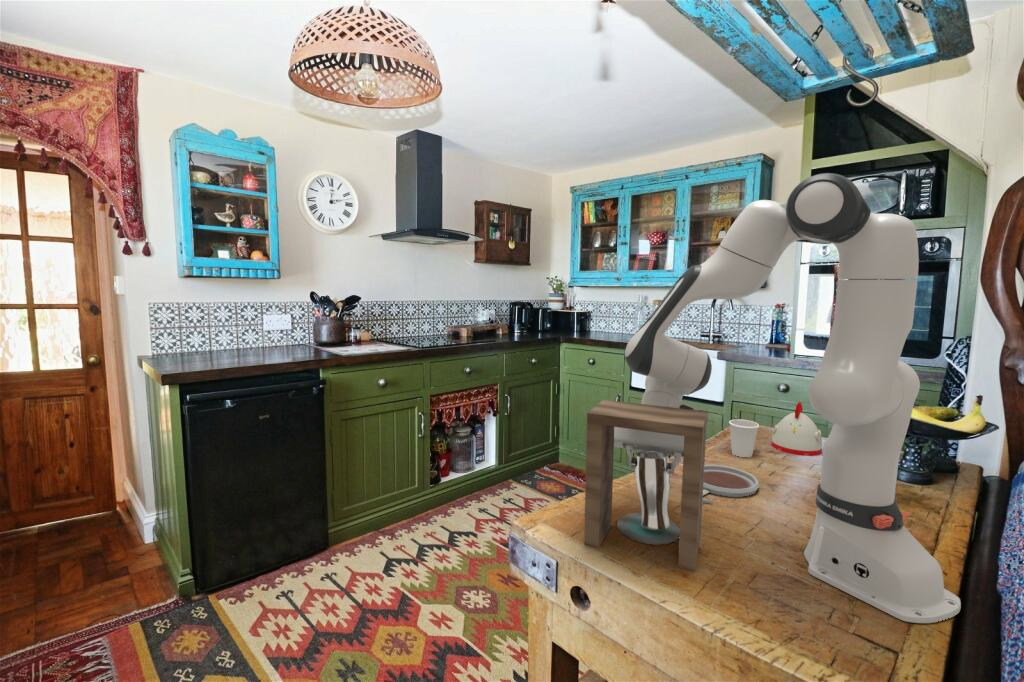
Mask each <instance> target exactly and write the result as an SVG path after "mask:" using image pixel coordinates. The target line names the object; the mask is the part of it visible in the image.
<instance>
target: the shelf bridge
mask: <svg viewBox="0 0 1024 682" xmlns="http://www.w3.org/2000/svg"><path fill="white" fill-rule="evenodd" d="M708 412H709V411H708V410H707V411H706V410H699V409H698V410H691V409H682V408H673V407H663V406H654V405H645V404H641V403H637V402H635V403H634V402H626V401H616V400H607V399H603V400H601V401H600V402H599V403H598V404H597V405H595V406H594V407H592V409H590V410H589V411H588V412H586V414H587V415H586V445H585V446H586V452H585V454H586V456H585V488H584V489H585V491H584V492H585V493H584V494H585V495H584V497H585V498H584V534H583V535H584V536H583V538H584V539H583V544H584V545H586V544H587V545H586V546H590V547H595V548H600V546H601V545H602V542H603V541H604V539H605V537H606V535H607V533H608V532H609V530H610V528H611V526H612V522H613V521H612V518H613V517H612V515H613V511H612V510H613V482H614V455H615V454H614V451H615V450H614V449H615V447H614V427H620V428H627V429H635V430H642V431H650V432H657V433H665V434H672V435H680V436H684V455H683V457H682V459H683V460H682V461H683V462H682V478H681V479H682V480H681V482H682V483H681V489H682V492H681V498H680V501H681V502H680V521H679V524H680V525H679V526H678V525H677V523H675V522H674V521H672V520H670V519H669V522H670V527H669V528H668V529H666V530H661V531H654V530H648V529H645V528H643V527H642V526H641V525H640V520H641V512H634V513H628V514H626V515H625V514H624V515H622V516H621V517H620V518H619V519H618V520H617V523H616V526H617V529H618V532H620V533H621V535H623V536H624V537H626V538H628V539H629V538H630V539H629V540H631V539H632V540H631V541H634V542H636V541H637V543H640V542H641V544H644V543H645V545H650V544H652V546H660V545H659V544H665V545H669V544H668V543H670V544H672V543H671V542H673V543H675V542H676V540H677V541H678V540H679V541H678V558H677V559H678V560H677V561H678V562H677V564H678V565H677V568H678V569H679V568H680V569H684V570H687V571H692V572H696V570H697V563H698V560H699V559H698V558H699V554H698V553H699V552H700V548H701V535H702V534H701V533H702V517H703V516H702V514H703V503H702V500H703V499H704V498H703V496H704V495H703V481H704V465H705V459H706V443H707V440H706V439H707V424H708V415H709V413H708ZM679 537H680V538H679ZM674 541H675V542H674Z"/></svg>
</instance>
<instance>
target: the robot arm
mask: <svg viewBox="0 0 1024 682" xmlns="http://www.w3.org/2000/svg"><path fill="white" fill-rule="evenodd" d="M871 210H872V209H871V207H870V206H869V205H868V203H867V201H866V200H865V198H864V197H863V195H862V193H861V192H860V190H859V188H858V187H857V185H856V184H855V183H854V182H853V181H852V180H850V179H849V177H846V176H844V175H842V174H838V173H834V172H833V173H830V172H825V173H823V172H822V173H818V174H815V175H812V176H809V177H807V178H805V179H804V180H802V181H801V182H799V183H798V184H797V185H796V186H795V187H794V188H793V189H792V191H791V193H789V196H788V198H787V201H786V202H784V203H783V202H778V201H775V200H770V199H769V200H768V199H760V200H758V199H757V200H754V201H752V202H750V203H748V204H747V205H746V207H744V208H743V210H742V211H740V213H739V215H738V216H737V217H736V219H735V220H734V221H733V223H732V224H731V226H730V227H729V229H728V230H727V232H725V235H724V237H723V238H722V240H721V241H720V244H719V245H718V247H717V248H716V250H715V251H714V252H713V254H712V255H711V256H709V258H707V260H705V261H703V262H702V263H700V264H696V265H691V266H690V267H689V268H687V270H685V272H683V273H682V275H681V276H680V277H678V279H677V280H676V282H675V283H674V284H673V285H672V287H671V288H670V290H668V292H667V293H666V294H665V296H664V297H663V299H662V300H661V301H660V303H659V304H658V305H657V306H656V307H655V309H654V311H653V312H652V313H651V314H650V316H649V317H648V318H647V319H646V321H645V322H644V323H643V324H642V326H640V327H639V328H638V330H637V331H636V332H635V333H634V334H633V336H632V337H631V338H630V340H628V342H627V344H626V347H625V351H624V354H623V356H624V360H625V363H626V364H627V366H628V368H629V369H630V370H631V372H632V373H636V374H638V375H642V376H645V384H644V386H645V391H644V392H643V394H642V398H641V402H640V404H645V405H654V406H663V407H673V408H682V409H691V410H699V409H698V408H696V407H693V406H692V405H688V404H685V403H684V402H683V401H682V400H683V397H685V396H689V395H692V394H695V393H696V392H699V391H700V390H702V389H704V388H705V387H706V386H707V385H708V384H709V381H710V379H711V375H712V370H713V368H712V366H713V364H712V360H711V357H710V355H709V353H708V352H707V351H704V350H703V349H701V348H699V347H696V346H693V345H691V344H689V343H685V342H683V341H680V340H678V339H675V338H673V337H670V336H667V335H665V333H666V332H667V331H668V330H669V328H671V325H673V324H674V322H675V321H676V319H677V318H678V316H680V314H681V313H682V312H683V310H684V309H685V308H686V307H687V306H689V305H690V304H691V303H694V302H697V301H701V300H735V299H742V298H745V297H749V296H751V295H753V294H755V293H756V292H758V291H759V290H760V288H761V287H762V286H763V285H764V284H765V283H766V281H767V280H768V278H769V277H770V275H771V273H772V271H773V270H774V268H775V266H776V265H777V263H778V261H779V260H780V258H781V256H782V255H783V254H784V252H785V251H786V250H787V248H788V247H789V246H790V245H791V244H793V243H795V242H798V243H811V244H820V245H829V244H830V245H831V244H832V245H834V246H835V247H836V249H837V252H838V259H839V262H838V265H839V266H838V274H837V284H836V295H835V303H834V304H835V306H834V317H833V322H832V327H831V331H830V335H829V338H828V341H827V344H826V347H825V349H824V350H825V351H824V352H823V357H822V359H821V363H820V365H819V368H818V371H817V372H816V374H815V375H814V377H813V379H811V381H810V383H809V386H808V389H807V390H808V391H807V396H808V400H809V404H810V405H811V408H812V409H813V411H814V413H816V415H818V416H819V417H821V418H822V419H823V420H825V421H827V422H829V423H831V424H832V428H831V430H830V433H829V434H828V437H827V439H826V440H825V442H824V444H823V446H822V461H821V471H820V472H821V473H820V482H819V484H818V485H817V487H816V488H817V489H816V496H815V504H816V514H815V520H814V523H813V529H812V530H811V535H810V538H809V540H808V543H807V546H806V547H805V549H804V551H803V556H804V558H805V560H806V561H807V564H808V566H807V571H808V572H807V573H809V574H810V575H811V576H812V577H814V578H816V579H819V580H820V581H823V582H824V583H827V584H829V585H830V586H833V587H834V588H837V589H838V590H841V591H843V592H844V593H847V594H849V595H850V596H852V597H854V598H856V599H859V600H860V601H863V602H864V603H867V604H869V605H871V606H873V607H874V608H876V609H878V610H880V611H881V612H884V613H887V614H888V615H890V616H892V617H894V618H896V619H898V620H900V621H903V622H907V623H915V624H933V623H934V624H935V623H938V621H939V622H942V620H943V621H946V620H949V619H951V618H953V617H955V616H956V615H958V614H959V613H960V612H961V608H962V606H961V605H962V602H961V598H960V597H959V596H957V595H956V594H954V593H953V592H951V591H950V590H947V589H946V588H945V584H944V576H943V570H942V567H941V564H940V563H939V561H937V559H936V558H935V557H933V555H931V554H930V552H929V551H928V550H927V549H926V548H925V547H924V546H923V545H922V544H921V543H920V542H919V541H918V539H916V538H915V536H914V535H912V533H910V531H909V530H908V529H907V528H906V527H905V525H904V524H905V523H904V520H907V519H909V518H911V516H909V515H911V513H912V512H911V511H905V512H901V510H900V508H899V505H898V503H897V500H896V499H895V496H896V486H897V478H898V471H899V470H898V468H899V463H900V457H901V452H902V448H903V445H904V442H905V438H906V435H907V432H908V429H909V426H910V421H911V417H912V413H913V410H914V405H915V401H916V399H917V397H918V395H919V392H920V388H921V383H920V378H919V376H918V374H917V372H916V370H915V369H914V368H913V367H911V365H909V364H908V363H906V362H905V361H902V360H900V358H901V356H902V352H903V349H904V346H905V343H906V340H907V338H908V336H909V334H910V333H911V331H912V329H913V326H914V316H915V306H916V297H917V289H918V288H917V287H918V278H919V264H920V263H919V262H920V261H919V259H920V257H919V242H918V235H917V230H916V226H915V224H914V222H913V221H912V220H911V219H910V218H907V217H906V216H903V215H900V214H895V213H888V212H887V213H885V212H884V213H875V212H872V211H871ZM614 448H619V449H625V450H626V453H627V456H628V467H629V468H630V469H631V468H633V469H635V467H636V456H635V457H633V454H634V453H635V451H638V452H641V451H660V452H664V453H667V454H668V456H673V458H674V459H673V460H672V461H671V462H669V463H668V467H667V472H668V473H669V474H670V475H673V476H674V474H675V469H676V468H677V467H678V466H679V465H680V464H681V462H682V459H683V455H684V436H680V435H672V434H665V433H657V432H650V431H642V430H635V429H627V428H620V427H614ZM948 618H949V619H948ZM945 619H946V620H945Z"/></svg>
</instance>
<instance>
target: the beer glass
mask: <svg viewBox="0 0 1024 682" xmlns="http://www.w3.org/2000/svg"><path fill="white" fill-rule="evenodd" d="M635 458H636V467H635V468H634V469H635V481H636V486H637V487H636V488H637V492H638V497H639V500H640V501H639V502H640V506H641V512H640V513H641V520H640V525H641V526H642V527H643V528H645V529H648V530H654V531H661V530H666V529H668V528H669V527H670V522H669V520H670V517H669V513H668V503H669V495H670V485H671V474H669V473H668V472H667V467H668V463H670V461H669V455H668V454H667V453H664V452H660V451H638V452H637V453H636V454H635Z"/></svg>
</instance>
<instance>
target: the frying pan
mask: <svg viewBox="0 0 1024 682" xmlns="http://www.w3.org/2000/svg"><path fill="white" fill-rule="evenodd" d="M758 488H760V483H759V480H758V479H757V478H756V477H755V476H754V475H753V474H751V473H749V472H747V471H745V470H742V469H740V468H737V467H733V466H728V465H720V464H704V481H703V496H705V495H707V494H712V495H715V494H716V496H720V495H721V496H722V497H726V496H727V497H728V498H744V497H743V496H747V497H750V496H752V495H751V494H753V495H755V493H756V492H757V490H758ZM681 493H682V488H681ZM749 495H750V496H749ZM721 496H720V497H721ZM713 502H714V501H713V499H705V498H703V500H702V504H710V505H713V504H714V503H713ZM680 503H681V500H680Z"/></svg>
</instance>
